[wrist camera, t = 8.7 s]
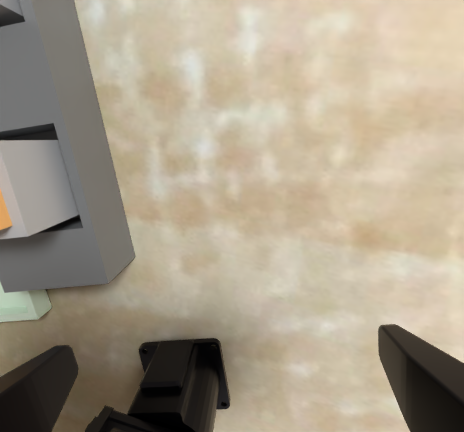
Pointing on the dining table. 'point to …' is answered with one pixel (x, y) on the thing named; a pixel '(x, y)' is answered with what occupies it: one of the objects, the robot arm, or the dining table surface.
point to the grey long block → (73, 149)
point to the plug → (33, 187)
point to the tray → (23, 305)
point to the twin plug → (10, 12)
